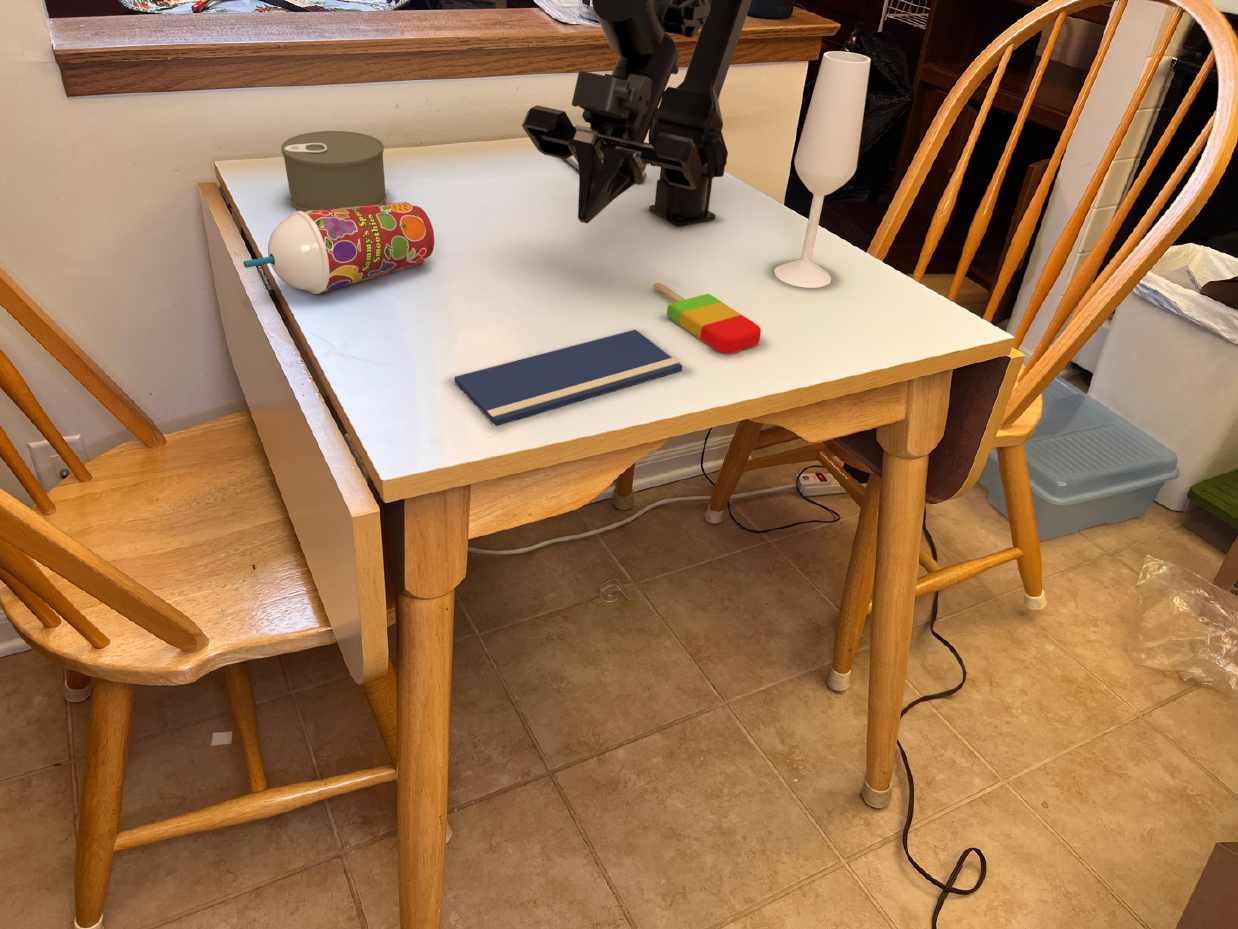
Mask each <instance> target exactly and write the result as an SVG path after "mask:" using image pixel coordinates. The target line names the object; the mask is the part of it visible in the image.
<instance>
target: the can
mask: <svg viewBox="0 0 1238 929" xmlns="http://www.w3.org/2000/svg"><path fill="white" fill-rule="evenodd" d="M280 150H281V154H282V155H283V159H284V166H285V172H286V178H287V184H288V191H289V195H290V203H291V206H292V207H293V208H294V209H295V210H296V211H311V210H322V209H334V208H345V207H356V206H368V205H379V204H386V203H387V195H386V194H387V193H386V180H385V170H384V169H385V167H384V150H385V148H384V144H383V143H382V141H381V140H380V139H378V138H376V137H374V136H371V135H368V134H365V133H360V132H355V131H347V130H344V131H343V130H322V131H311V132H306V133H302V134H298V135H295V136H292V137H290V138H288V139H286V140H285V141H284V142H282V143H281V147H280Z"/></svg>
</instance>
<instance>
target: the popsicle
mask: <svg viewBox="0 0 1238 929" xmlns="http://www.w3.org/2000/svg"><path fill="white" fill-rule="evenodd" d="M653 287H654V288H655V289H656V290H658V291H659V292H661V293H662V294H663V295H665V296H667V297H668V298H669V299H671V300H673V301H674V302H671V303H669V304H668V305H667V308H666V309H667V310H666V315H667V318H669V319H670V320H672V321H673V322H675V323H676V324H678V325H679V326H680V327H682V328H683V329H685V330H686V331H687V332H689V333H690V334H692V335H693V336H695V337H696V338H697V339H699V340H700V341H702V342H703V343H705V344H706V345H707V346H709V347H710V348H712V349H713V350H714V351H717V352H718V353H721V354H727V355H728V354H732V353H736V352H739V351H743V350H745V349H749V348H752V347H754V346H757V345H758V344H759V342H760V340H761V334H762V329H761V327H760V325H758V324H757V323H756V322H754V321H753V320H751V319H749V318H748V317H746V316H744V314H742V313H740V312H738V311H737V310H736V309H734V308H732V307H730V306H729V305H727V304H726V303H725V302H723V301H722V300H720V299H718V298H717V297H715V296H713V295H712V294H711V293H705V294H701V295H697V296H693V297H690V298H684V297H683V296H681V295H680V294H679V293H677V292H676V291H674V290H672V289H671V288H669V287H668V286H667V285H665V284H664V283H662V282H654V283H653Z"/></svg>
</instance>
